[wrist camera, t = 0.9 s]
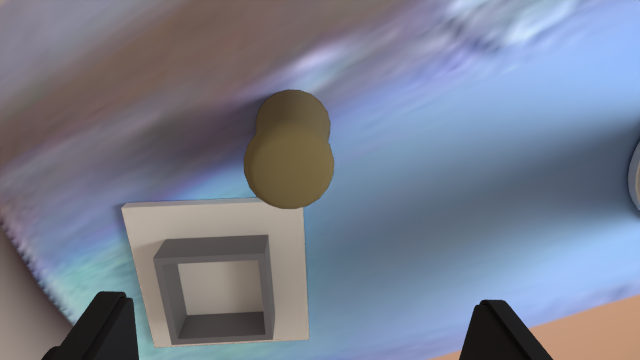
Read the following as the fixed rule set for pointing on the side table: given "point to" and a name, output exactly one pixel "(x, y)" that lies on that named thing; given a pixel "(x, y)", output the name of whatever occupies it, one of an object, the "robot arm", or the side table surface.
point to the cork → (290, 151)
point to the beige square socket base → (220, 270)
